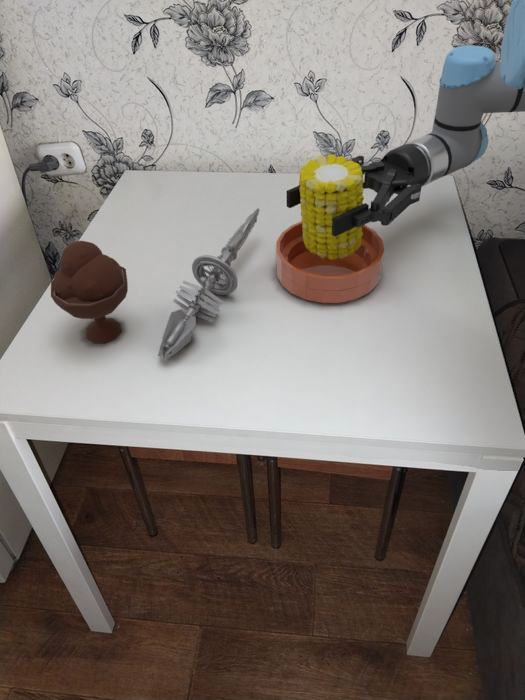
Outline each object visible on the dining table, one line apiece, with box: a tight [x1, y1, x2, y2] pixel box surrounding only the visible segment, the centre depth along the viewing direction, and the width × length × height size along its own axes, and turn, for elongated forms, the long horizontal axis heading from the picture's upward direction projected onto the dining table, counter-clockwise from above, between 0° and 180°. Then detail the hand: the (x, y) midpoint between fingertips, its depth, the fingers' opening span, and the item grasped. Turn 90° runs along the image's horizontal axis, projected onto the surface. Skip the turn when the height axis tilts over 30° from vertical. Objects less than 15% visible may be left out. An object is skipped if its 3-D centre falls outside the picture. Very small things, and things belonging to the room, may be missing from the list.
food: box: [298, 154, 365, 261], centre depth 90 cm, size 15×12×10 cm
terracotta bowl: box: [275, 220, 385, 304], centre depth 97 cm, size 17×17×6 cm
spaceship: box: [157, 208, 261, 361], centre depth 93 cm, size 8×35×8 cm
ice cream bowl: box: [50, 240, 129, 344], centre depth 85 cm, size 11×11×15 cm
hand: (310, 213), depth 88 cm, fingers closed on food, 10 cm apart
